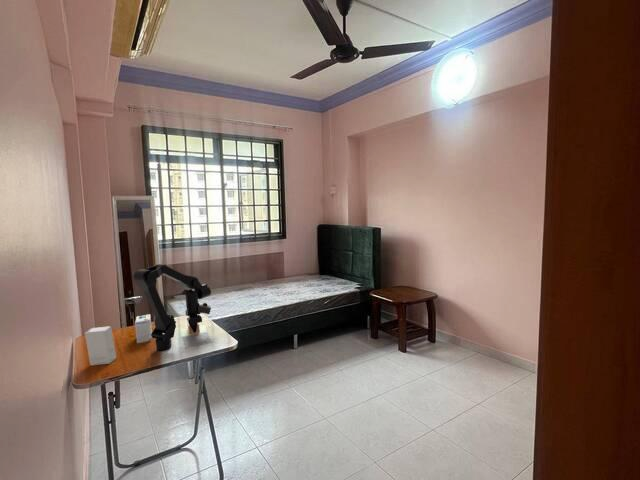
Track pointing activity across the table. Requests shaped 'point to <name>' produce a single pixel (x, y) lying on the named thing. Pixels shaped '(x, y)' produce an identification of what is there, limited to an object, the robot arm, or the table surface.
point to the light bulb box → (143, 328)
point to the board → (195, 337)
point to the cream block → (192, 330)
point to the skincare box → (100, 345)
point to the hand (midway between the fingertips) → (195, 332)
